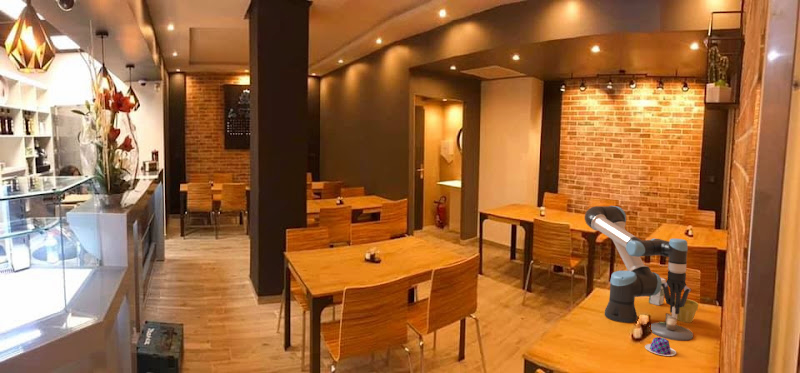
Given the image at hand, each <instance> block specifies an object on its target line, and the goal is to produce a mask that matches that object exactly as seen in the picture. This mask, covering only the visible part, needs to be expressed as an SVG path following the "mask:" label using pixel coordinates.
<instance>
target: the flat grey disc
mask: <svg viewBox="0 0 800 373" xmlns="http://www.w3.org/2000/svg"><path fill="white" fill-rule="evenodd" d="M651 330H652V332H651V333H652V334H654V335H656V336H657V337H661V338H664V339H666V340H673V341H679V342H680V341H683V342H684V341H690V340H693V338H694V333H693V331H692V330H691V329H690V328H686V327H684V326H681V325H678V324H676V330H669V329H667V328H666V323H665V321H658V322H651Z"/></svg>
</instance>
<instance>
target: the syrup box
mask: <svg viewBox="0 0 800 373" xmlns="http://www.w3.org/2000/svg"><path fill="white" fill-rule="evenodd" d="M660 278H661V281H662V283H666V282H667V279H666V278H663V277H660ZM664 300H665V294H664V289H663V287H662V286H661V290H660V292H659V293H658V294H656V295H652V296H648V303H649V304H652V305H656V306H661V305H664Z"/></svg>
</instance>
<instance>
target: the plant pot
mask: <svg viewBox="0 0 800 373" xmlns="http://www.w3.org/2000/svg"><path fill="white" fill-rule="evenodd" d="M675 301H676V298H675ZM674 306H675V305H674ZM698 308H699V302H697V301H695V300H692V299H689V298H687V299H686V302H685V305H684V306H683V307H680V311H679V314H677V321H679V322H682V323H692V322H693V320H694V318H695V314H696V312H697V311H698Z"/></svg>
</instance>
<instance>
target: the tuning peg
mask: <svg viewBox="0 0 800 373" xmlns="http://www.w3.org/2000/svg"><path fill="white" fill-rule="evenodd" d="M677 321H678V319H676V318H673V317H672V314H670V313H665V320H664V322H665V323H666V328H667V329H669V330H676V325H677V323H678V322H677Z"/></svg>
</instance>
